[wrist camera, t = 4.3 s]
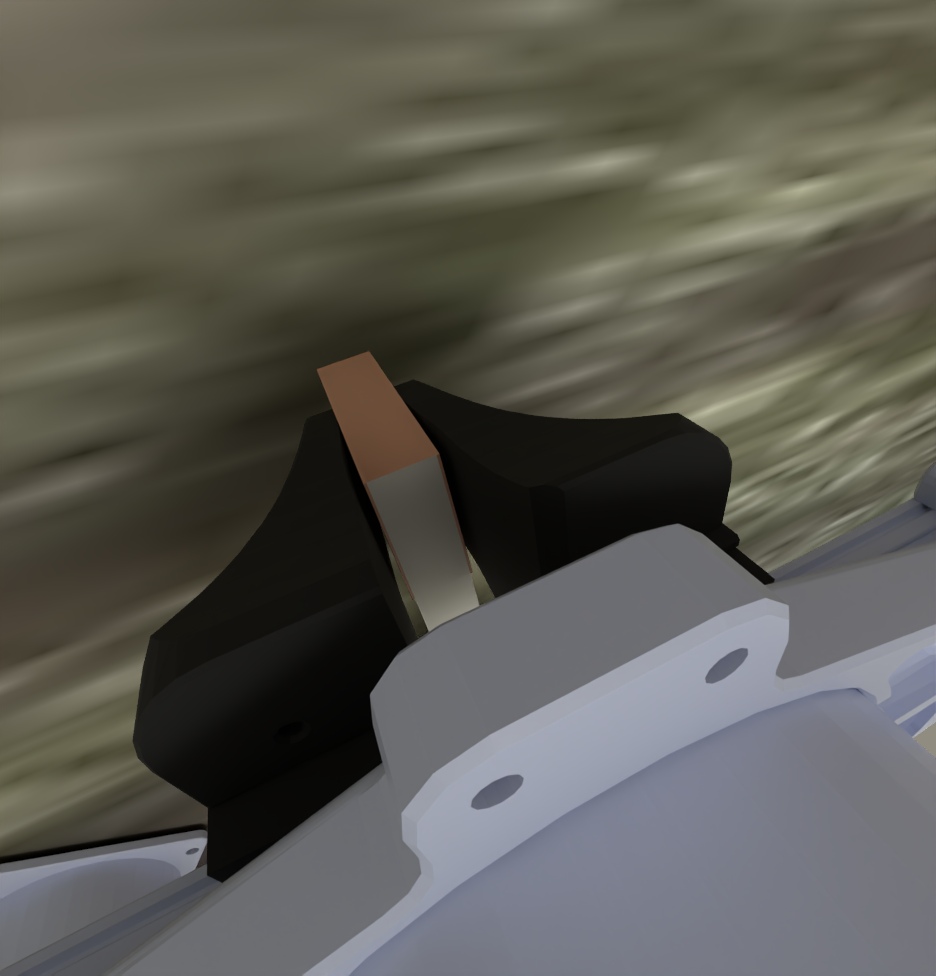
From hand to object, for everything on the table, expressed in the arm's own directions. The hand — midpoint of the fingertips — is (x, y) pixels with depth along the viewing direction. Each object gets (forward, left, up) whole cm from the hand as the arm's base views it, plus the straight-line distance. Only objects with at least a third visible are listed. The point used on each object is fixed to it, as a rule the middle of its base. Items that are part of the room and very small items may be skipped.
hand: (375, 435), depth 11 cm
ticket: (-6, -5, -1) cm, 8 cm away
